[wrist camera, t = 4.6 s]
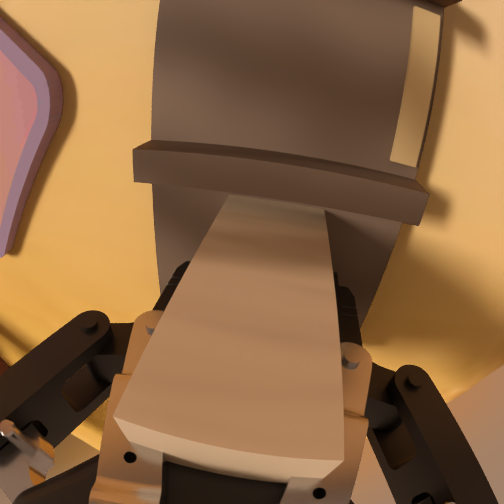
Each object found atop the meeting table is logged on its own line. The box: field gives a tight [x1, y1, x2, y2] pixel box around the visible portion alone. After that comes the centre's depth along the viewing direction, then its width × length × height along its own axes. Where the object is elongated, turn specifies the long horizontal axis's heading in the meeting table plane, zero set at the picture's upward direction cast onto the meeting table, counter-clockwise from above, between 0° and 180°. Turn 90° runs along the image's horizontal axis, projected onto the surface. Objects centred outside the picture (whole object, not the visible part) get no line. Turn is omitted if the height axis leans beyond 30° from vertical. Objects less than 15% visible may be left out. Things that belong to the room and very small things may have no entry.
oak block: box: [113, 195, 344, 483], centre depth 9 cm, size 6×4×9 cm, turn 174°
